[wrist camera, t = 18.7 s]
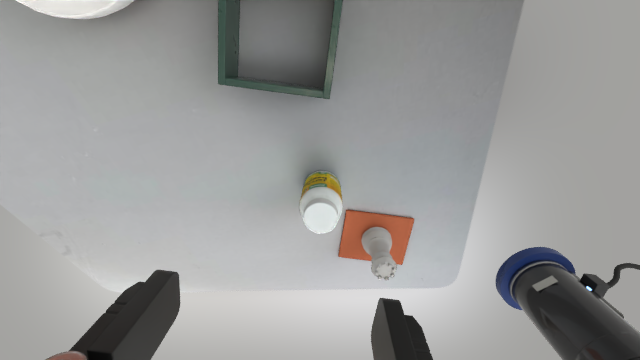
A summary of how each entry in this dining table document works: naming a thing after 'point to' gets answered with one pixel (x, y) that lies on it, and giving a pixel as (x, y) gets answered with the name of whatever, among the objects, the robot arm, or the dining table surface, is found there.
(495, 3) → the dining table surface
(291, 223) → the dining table surface
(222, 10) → the holder
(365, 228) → the mat
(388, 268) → the rook chess piece
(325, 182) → the supplement bottle
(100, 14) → the bowl
